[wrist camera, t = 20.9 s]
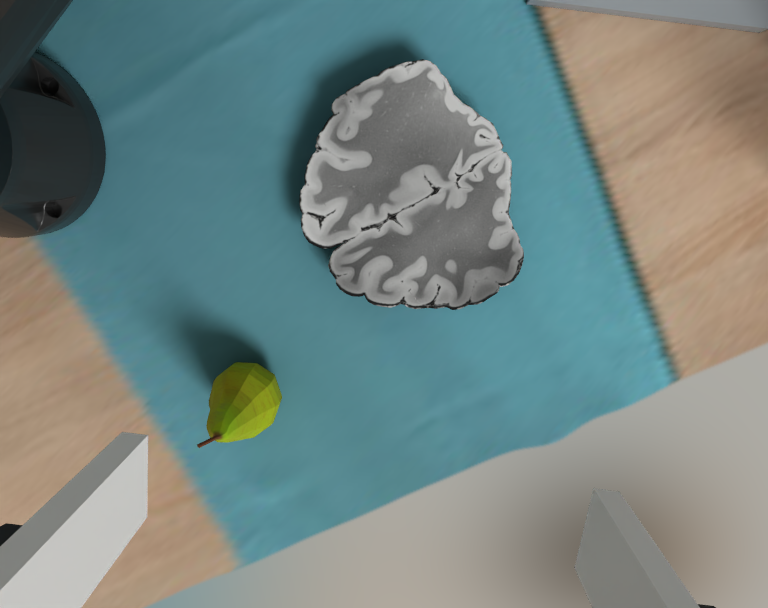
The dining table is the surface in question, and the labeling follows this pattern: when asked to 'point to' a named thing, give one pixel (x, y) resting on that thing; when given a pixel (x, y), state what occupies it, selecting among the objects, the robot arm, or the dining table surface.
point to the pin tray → (678, 11)
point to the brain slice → (411, 194)
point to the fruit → (242, 403)
